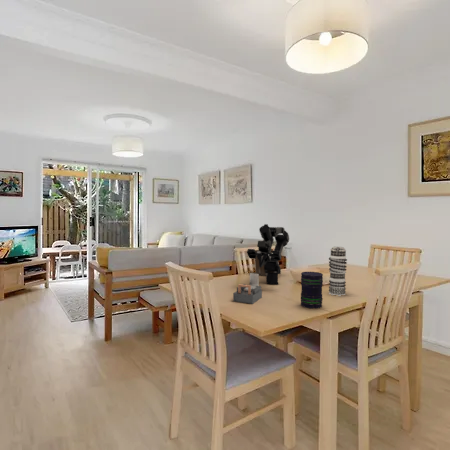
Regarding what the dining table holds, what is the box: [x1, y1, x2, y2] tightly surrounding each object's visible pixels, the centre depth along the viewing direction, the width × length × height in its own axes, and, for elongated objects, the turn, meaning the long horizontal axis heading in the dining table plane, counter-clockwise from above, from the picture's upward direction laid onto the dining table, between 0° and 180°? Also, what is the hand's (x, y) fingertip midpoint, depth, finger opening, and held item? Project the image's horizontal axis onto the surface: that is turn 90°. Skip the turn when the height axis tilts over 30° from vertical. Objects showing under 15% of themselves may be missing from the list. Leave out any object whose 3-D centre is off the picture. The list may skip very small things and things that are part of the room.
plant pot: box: [254, 249, 274, 277], centre depth 227 cm, size 16×16×16 cm
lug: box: [237, 283, 251, 294], centre depth 159 cm, size 1×6×4 cm, turn 64°
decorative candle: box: [328, 246, 348, 297], centre depth 174 cm, size 9×9×25 cm
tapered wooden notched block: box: [244, 272, 260, 291], centre depth 166 cm, size 10×4×7 cm, turn 154°
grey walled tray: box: [232, 283, 263, 305], centre depth 163 cm, size 13×10×6 cm
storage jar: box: [300, 271, 324, 309], centre depth 153 cm, size 10×10×15 cm
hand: (260, 266), depth 178 cm, fingers closed
